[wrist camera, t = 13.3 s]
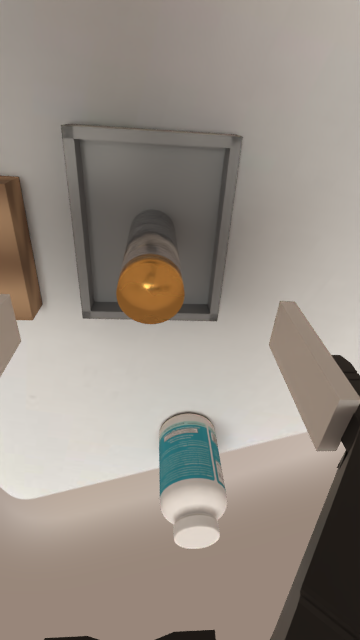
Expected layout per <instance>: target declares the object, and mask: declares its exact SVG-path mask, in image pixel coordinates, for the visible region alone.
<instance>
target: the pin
mask: <svg viewBox="0 0 360 640" xmlns="http://www.w3.org/2000/svg"><path fill="white" fill-rule="evenodd" d="M184 296H185V292H184V286H183V279H182V273H181V266H180V260H179V253H178V247H177V240H176V234H175V227H174V224H173V222H172V220H171V219H170V218H169V216H167V215H166V214H165V213H163V212H161V211H159V210H153V209H152V210H145V211H143V212H141V213H139V214H138V215H137V216H136V217H135V218H134V219H133V221H132V223H131V227H130V231H129V236H128V240H127V244H126V249H125V253H124V258H123V262H122V267H121V271H120V276H119V280H118V285H117V290H116V297H117V301H118V304H119V306H120V308H121V310H122V311H123V312H124V313H125V314H126V315H127V316H128V317H130V318H131V319H133V320H135V321H137V322H140V323H145V324H157V323H161V322H164V321H167V320H169V319H171V318H172V317H173V316H175V315H176V314H177V313H178V311H179V310H180V308H181V307H182V305H183V302H184Z"/></svg>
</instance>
